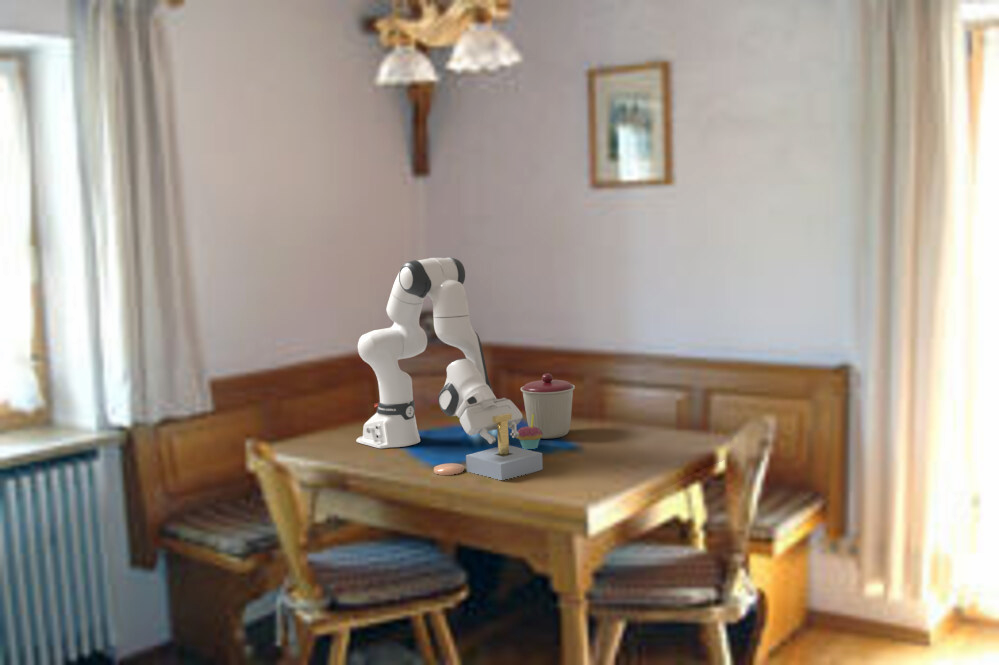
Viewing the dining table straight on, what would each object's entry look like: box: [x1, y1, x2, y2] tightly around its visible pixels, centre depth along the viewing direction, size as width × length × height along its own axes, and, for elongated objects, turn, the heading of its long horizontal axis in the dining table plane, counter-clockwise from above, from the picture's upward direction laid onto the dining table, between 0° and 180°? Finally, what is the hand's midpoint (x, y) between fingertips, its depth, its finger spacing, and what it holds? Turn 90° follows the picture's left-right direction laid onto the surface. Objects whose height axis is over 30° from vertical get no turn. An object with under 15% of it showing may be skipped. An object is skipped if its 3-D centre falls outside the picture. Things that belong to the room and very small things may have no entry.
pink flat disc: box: [433, 462, 465, 476], centre depth 310 cm, size 9×9×1 cm
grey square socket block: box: [465, 444, 544, 481], centre depth 307 cm, size 16×16×5 cm
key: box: [493, 413, 512, 457], centre depth 306 cm, size 3×6×17 cm, turn 130°
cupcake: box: [515, 412, 543, 450], centre depth 332 cm, size 9×8×12 cm
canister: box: [520, 373, 576, 440], centre depth 347 cm, size 18×18×21 cm
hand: (504, 439), depth 306 cm, fingers open, 8 cm apart
